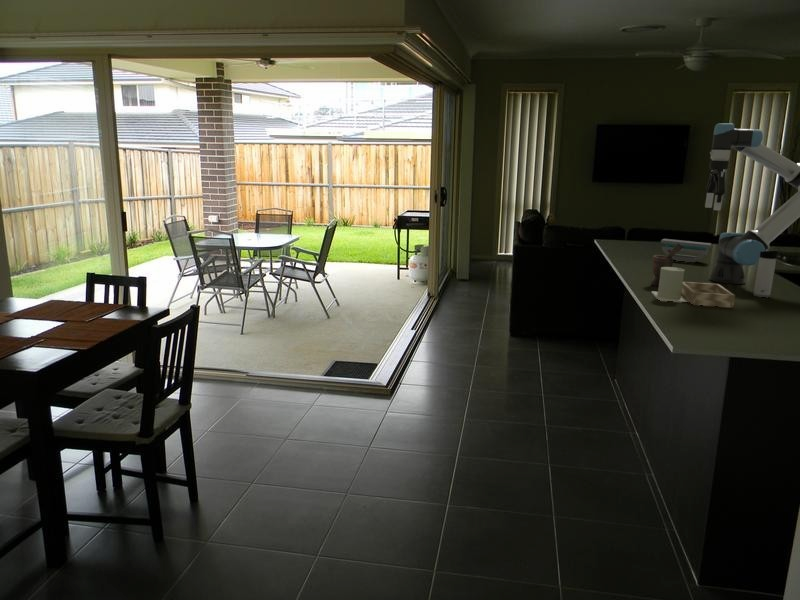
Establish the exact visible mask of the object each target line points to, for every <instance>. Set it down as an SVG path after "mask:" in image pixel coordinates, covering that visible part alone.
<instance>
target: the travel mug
mask: <svg viewBox="0 0 800 600" xmlns="http://www.w3.org/2000/svg"><path fill="white" fill-rule="evenodd" d="M778 253H779V251H778V250H767V251H764V252H762V251H760V257H759V258H760V259H759V263H757V264H758V265H757V270H756V276H755V283H754V289H753V296H754V297H756V296H757V297H756V298H761V297H766V298H767V299H769V298H770V297H771V292H772V286H773V281H774V274H775V270H776V269H775V268H776V262H777V255H778ZM768 297H769V298H768ZM766 298H765V299H766Z"/></svg>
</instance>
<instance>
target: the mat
mask: <svg viewBox="0 0 800 600" xmlns="http://www.w3.org/2000/svg"><path fill="white" fill-rule="evenodd" d="M651 294H652V295H653V296H654V297H655V299H656V300H657V299H658V300H660V301H659V302H667V301H673V302H672V303H682V302H688V301H687V300H686V299H685V298H684V297H683V296H681V298H679V299H670V298H663V297H660V296H658V295H657V294H658V291H655V290H652V291H651ZM658 300H657V301H658ZM688 303H689V302H688Z"/></svg>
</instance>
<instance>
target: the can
mask: <svg viewBox="0 0 800 600" xmlns="http://www.w3.org/2000/svg"><path fill="white" fill-rule="evenodd" d="M684 275H685V269H684V268H680V267H674V266H672V267H661V272H660V280H659V286H658V289H657V292H658V294H657V295H658V296H660V297H663V298H670V299H679V298H681V291H682V284H683V282H684Z"/></svg>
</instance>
